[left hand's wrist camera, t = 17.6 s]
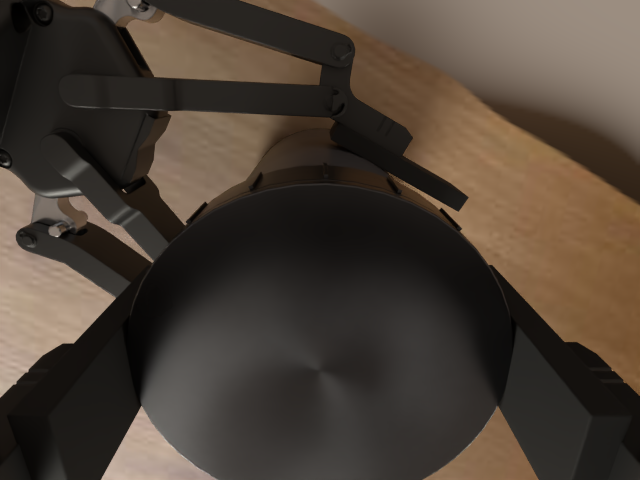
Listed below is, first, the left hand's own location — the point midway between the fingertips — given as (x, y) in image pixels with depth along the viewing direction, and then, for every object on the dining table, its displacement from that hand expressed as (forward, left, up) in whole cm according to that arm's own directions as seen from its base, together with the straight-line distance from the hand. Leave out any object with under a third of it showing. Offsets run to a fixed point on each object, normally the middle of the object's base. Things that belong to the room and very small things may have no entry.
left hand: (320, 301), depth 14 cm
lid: (0, 0, +3) cm, 3 cm away
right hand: (-4, -1, -6) cm, 8 cm away
